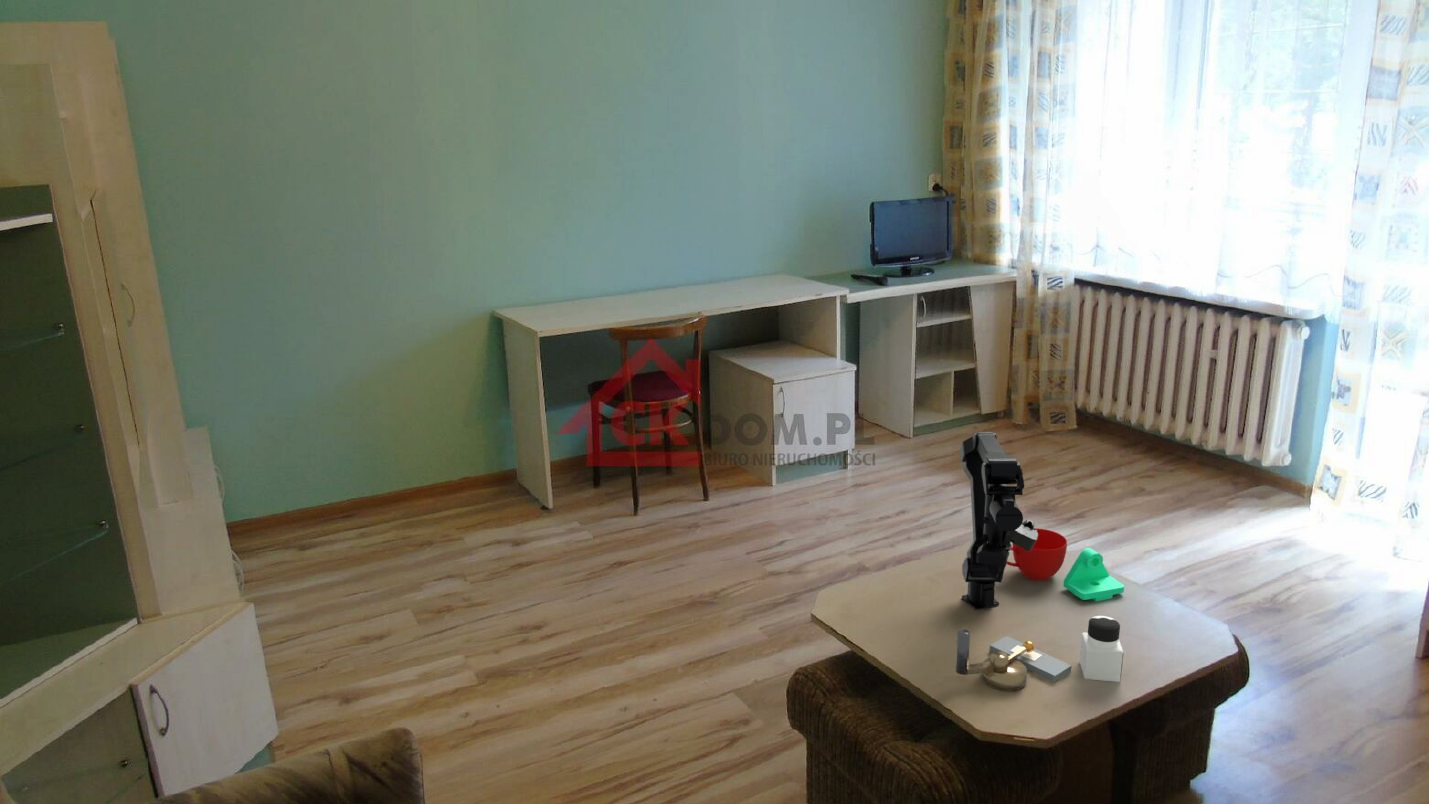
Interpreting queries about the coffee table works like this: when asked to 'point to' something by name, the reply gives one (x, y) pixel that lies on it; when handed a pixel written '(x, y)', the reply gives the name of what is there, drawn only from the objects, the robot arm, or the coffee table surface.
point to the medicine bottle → (1101, 650)
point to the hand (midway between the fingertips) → (994, 577)
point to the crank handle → (993, 665)
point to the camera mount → (1091, 578)
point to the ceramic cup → (1041, 556)
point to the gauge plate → (1034, 659)
